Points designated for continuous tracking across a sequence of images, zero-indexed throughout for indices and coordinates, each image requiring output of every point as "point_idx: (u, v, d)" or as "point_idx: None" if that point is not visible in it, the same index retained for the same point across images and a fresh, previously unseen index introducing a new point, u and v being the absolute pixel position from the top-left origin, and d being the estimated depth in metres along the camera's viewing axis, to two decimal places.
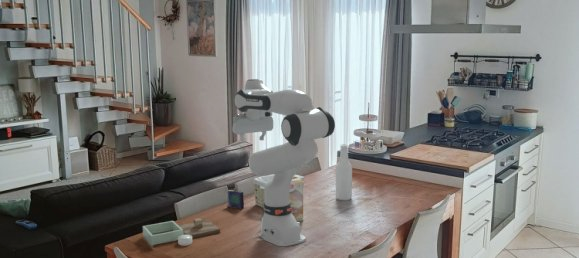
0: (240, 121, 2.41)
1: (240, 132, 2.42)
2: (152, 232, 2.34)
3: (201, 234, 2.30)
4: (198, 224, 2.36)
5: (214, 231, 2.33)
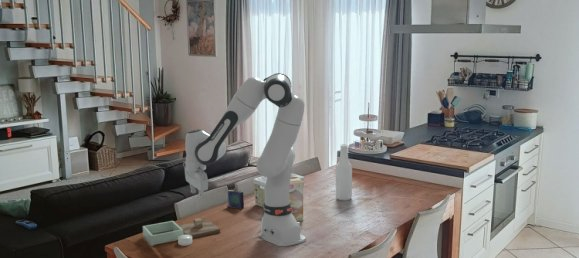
0: None
1: None
2: (152, 232, 2.34)
3: (201, 234, 2.30)
4: (198, 224, 2.36)
5: (214, 231, 2.33)
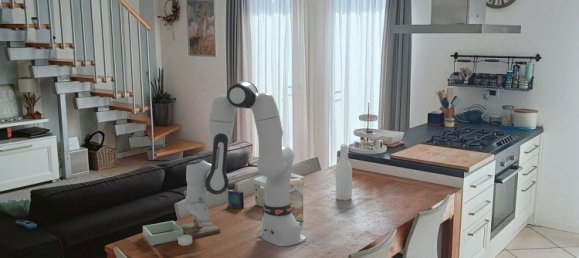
0: None
1: None
2: (152, 232, 2.34)
3: (201, 234, 2.30)
4: None
5: (214, 231, 2.33)
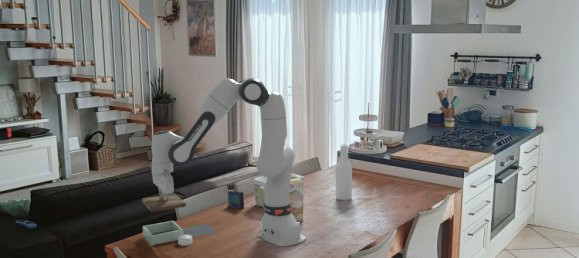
0: None
1: None
2: (152, 232, 2.34)
3: (165, 207, 2.22)
4: None
5: (179, 205, 2.25)
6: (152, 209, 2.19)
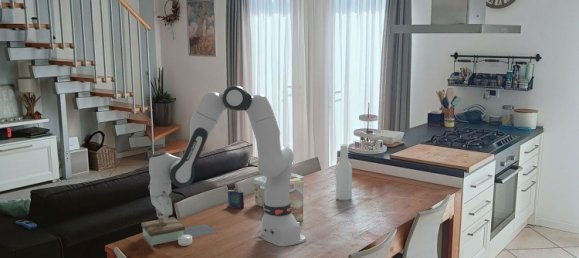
0: None
1: None
2: None
3: (164, 231, 2.23)
4: (162, 221, 2.28)
5: (178, 229, 2.26)
6: (151, 234, 2.20)
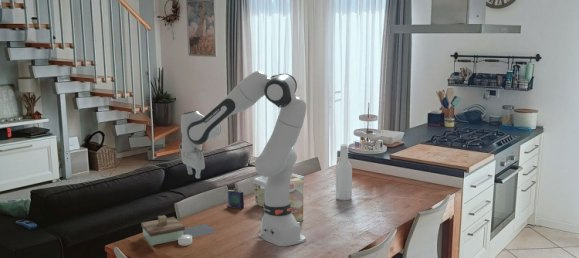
0: None
1: None
2: None
3: (164, 231, 2.23)
4: (162, 221, 2.28)
5: (178, 229, 2.26)
6: (151, 234, 2.20)
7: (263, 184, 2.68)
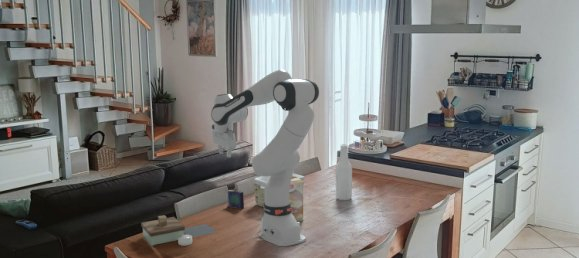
0: None
1: None
2: None
3: (164, 231, 2.23)
4: (162, 221, 2.28)
5: (178, 229, 2.26)
6: (151, 234, 2.20)
7: (263, 184, 2.68)
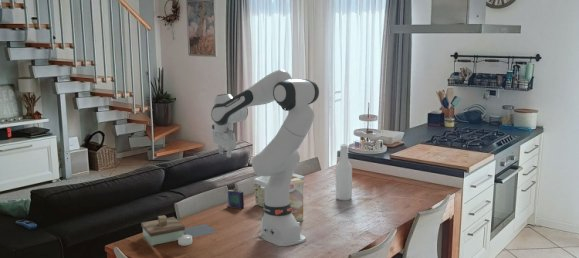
0: None
1: None
2: None
3: (164, 231, 2.23)
4: (162, 221, 2.28)
5: (178, 229, 2.26)
6: (151, 234, 2.20)
7: (263, 184, 2.68)
